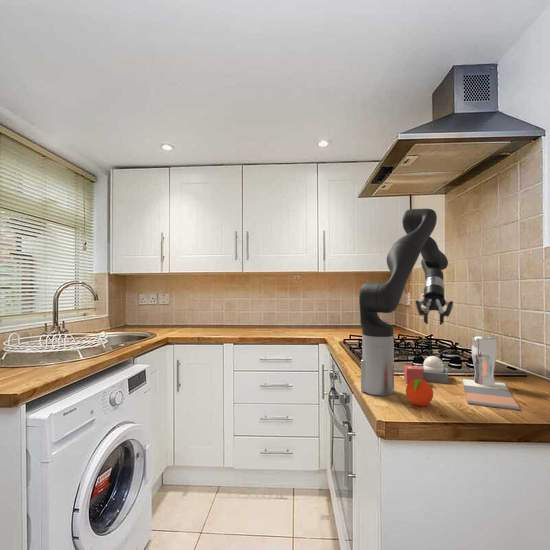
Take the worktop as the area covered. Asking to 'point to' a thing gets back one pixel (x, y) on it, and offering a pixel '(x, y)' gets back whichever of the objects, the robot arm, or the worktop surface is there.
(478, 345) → the beer glass
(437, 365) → the dome cap
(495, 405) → the game board
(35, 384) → the worktop surface
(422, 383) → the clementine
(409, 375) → the die
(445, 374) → the dome base
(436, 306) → the robot arm
